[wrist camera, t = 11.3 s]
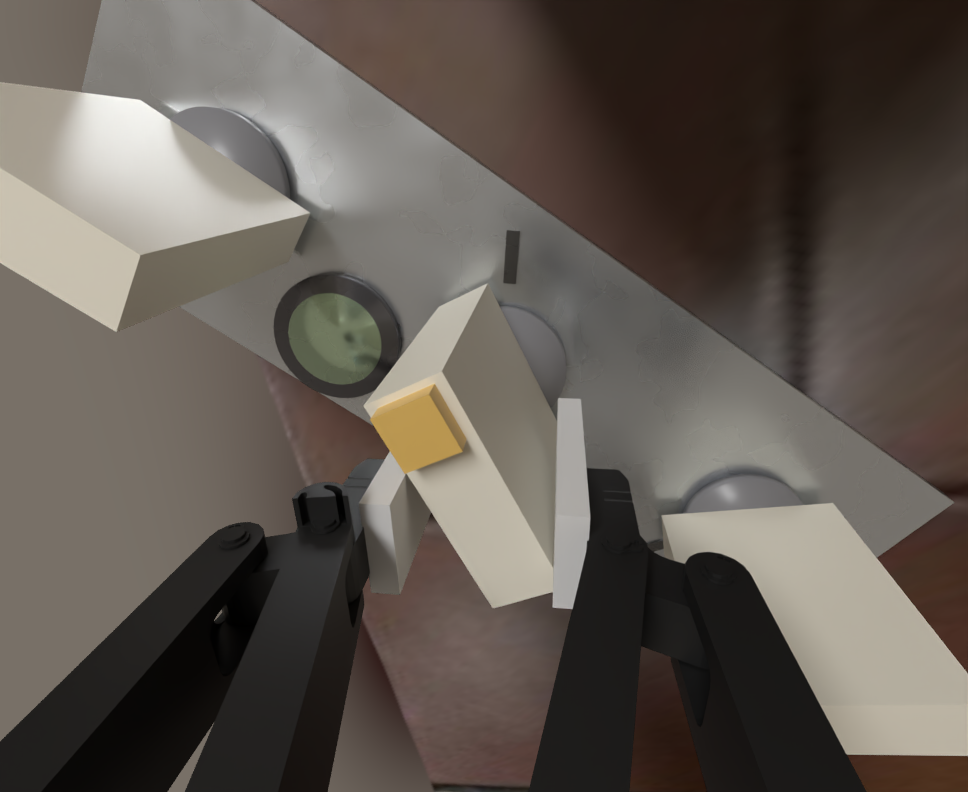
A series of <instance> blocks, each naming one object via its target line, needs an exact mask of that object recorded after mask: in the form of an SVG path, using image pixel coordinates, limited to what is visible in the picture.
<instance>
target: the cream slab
mask: <svg viewBox="0 0 968 792" xmlns="http://www.w3.org/2000/svg"><path fill="white" fill-rule="evenodd" d="M309 216H310V212H308V211H307V210H305V209H304V208H302V207H301V206H299V205H298V204H296V203H295V202H293V201H292V200H290V188H289V181H288V176H287V173H286V169H285V167H284V164H283V161H282V159H281V157H280V155H279V153H278V151H277V150H276V148H275V147H274V145H273V144H272V142H271V141H270V139H269V138H268V137H267V136H266V135H265V133H264V132H263V131H261V130H260V129H259V128H258V127H257V126H256V125H255V124H254V123H252V122H251V121H250V120H248V119H246V118H245V117H243V116H241V115H240V114H237V113H235V112H233V111H230V110H226V109H222V108H215V107H207V106H200V107H192V108H188V109H185V110H183V111H180V112H179V113H177V114H175V115H174V116H172V117H171V118H170V119H168V118H167V117H165V116H164V115H162V114H161V113H159V112H158V111H156V110H155V109H153V108H152V107H150V106H149V105H147V104H146V103H144V102H143V101H141V100H137V99H129V98H121V97H114V96H106V95H98V94H90V93H82V92H74V91H66V90H58V89H50V88H42V87H34V86H26V85H18V84H10V83H3V82H0V263H1V264H3V265H5V266H6V267H8V268H10V269H11V270H13V271H15V272H16V273H18V274H20V275H22V276H23V277H25V278H26V279H28V280H30V281H31V282H33V283H35V284H36V285H38V286H40V287H41V288H43V289H45V290H47V291H48V292H50V293H52V294H54V295H55V296H57V297H58V298H60V299H62V300H63V301H65V302H67V303H68V304H70V305H72V306H73V307H75V308H77V309H78V310H80V311H82V312H84V313H85V314H87V315H89V316H90V317H92V318H94V319H95V320H97V321H99V322H100V323H102V324H104V325H106V326H107V327H109V328H110V329H112V330H114V331H115V332H118V331H120V330H123V329H125V328H127V327H130V326H132V325H135V324H137V323H140V322H142V321H144V320H147V319H149V318H152V317H155V316H157V315H159V314H162V313H164V312H167V311H169V310H172V309H174V308H177V307H179V306H181V305H184V304H186V303H189V302H191V301H194V300H196V299H199V298H201V297H204V296H206V295H208V294H211V293H213V292H216V291H218V290H221V289H223V288H226V287H228V286H230V285H233V284H235V283H238V282H240V281H243V280H245V279H248V278H250V277H252V276H255V275H257V274H260V273H262V272H265V271H267V270H270V269H272V268H275V267H277V266H279V265H282V264H284V263H287V262H289V259H290V257H291V255H292V253H293V251H294V248H295V246H296V244H297V242H298V240H299V237H300V235H301V233H302V231H303V229H304V226H305V224H306V222H307V220H308V218H309Z"/></svg>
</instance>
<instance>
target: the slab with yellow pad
mask: <svg viewBox="0 0 968 792" xmlns="http://www.w3.org/2000/svg"><path fill="white" fill-rule="evenodd" d="M662 530H663V546H664V555H665V558H667V559H670V560H674V561H677V562H680V563H684V564H685V563H686V561H687V560H688V558H689V557H690V556H692V555H694V554H696V553H701V552H713V553H720V554H723V555H726V556H728V557H731V558H733V559H735V560H736V561H738V562H739V563H741V564H742V565H744V566H745V568H746V569H747V570H748V571H749V573H750V574H751V576H752V577H753V579H754V581H755V583H756V585H757V587H758V589H759V591H760V593H761V594H762V596H763V598H764V600H765V602H766V604H767V606H768V608H769V609H770V611H771V613H772V615H773V617H774V619H775V621H776V623H777V625H778V626H779V628H780V630H781V632H782V634H783V636H784V638H785V640H786V641H787V643H788V645H789V647H790V649H791V651H792V653H793V655H794V657H795V658H796V660H797V662H798V664H799V666H800V668H801V670H802V672H803V673H804V675H805V677H806V679H807V681H808V683H809V685H810V687H811V689H812V690H813V692H814V694H815V696H816V698H817V700H818V702H819V704H820V706H821V707H822V709H823V711H824V713H825V715H826V717H827V719H828V721H829V722H830V724H831V726H832V728H833V730H834V732H835V734H836V736H837V738H838V739H839V741H840V743H841V745H842V747H843V749H844V751H845V753H846V754H852V755H940V756H968V673H967V672H966V671H965V670H964V668H963V667H962V666H961V664H960V663H959V662H958V661H957V659H956V658H955V657H954V656H953V654H952V653H951V652H950V651H949V649H948V648H947V647H946V645H945V644H944V643H943V642H942V640H941V639H940V638H939V637H938V635H937V634H936V633H935V632H934V630H933V629H932V628H931V626H930V625H929V624H928V623H927V621H926V620H925V619H924V618H923V616H922V615H921V614H920V613H919V611H918V610H917V609H916V607H915V606H914V605H913V604H912V602H911V601H910V600H909V599H908V597H907V596H906V595H905V594H904V592H903V591H902V590H901V588H900V587H899V586H898V585H897V583H896V582H895V581H894V580H893V578H892V577H891V576H890V575H889V573H888V572H887V571H886V569H885V568H884V567H883V566H882V564H881V563H880V562H879V561H878V559H877V558H876V557H875V556H874V554H873V553H872V552H871V550H870V549H869V548H868V547H867V545H866V544H865V543H864V542H863V540H862V539H861V538H860V537H859V535H858V534H857V533H856V531H855V530H854V529H853V528H852V526H851V525H850V524H849V523H848V521H847V520H846V519H845V518H844V516H843V515H842V514H841V512H840V511H839V510H838V509H837V507H836V506H835V505H834V504H833V503H826V504H812V505H803V504H802V502H801V500H800V499H799V498H798V496H797V495H796V494H795V492H794V491H793V490H792V489H791V488H790V487H788V486H787V485H786V484H784V483H782V482H781V481H779V480H777V479H774V478H771V477H768V476H764V475H759V474H738V475H732V476H728V477H724V478H721V479H718V480H716V481H714V482H712V483H710V484H708V485H706V486H705V487H703V488H702V489H701V490H699V491H698V492H697V493H696V494H695V495H694V496H693V497H692V498H691V499H690V501H689V502H688V504H687V505H686V507H685V509H684V512H683V514H672V515H662Z"/></svg>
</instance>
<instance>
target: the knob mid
mask: <svg viewBox="0 0 968 792" xmlns="http://www.w3.org/2000/svg"><path fill="white" fill-rule="evenodd" d="M565 379H566V357H565V353H564V349H563V346H562V344H561V341H560V339H559V338H558V336H557V334H556V333H555V332H554V330H553V329H552V328H551V327H550V326H549V325H548V324H547V323H546V322H545V321H544V320H542V319H541V318H540V317H538V316H536V315H535V314H533V313H531V312H529V311H526V310H524V309H520V308H517V307H510V306H499V304H498V302H497V300H496V298H495V296H494V294H493V292H492V290H491V288H490V286H489V284H488V283H487V284H485V285H483V286H481V287H479V288H477V289H474V290H472V291H470V292H468V293H466V294H464V295H462V296H460V297H458V298H456V299H454V300H452V301H450V302H448V303H446V304H444V305H441V306H439V307H438V309H437V310H436V311H435V312H434V314H433V315H432V316H431V318H430V319H429V320H428V322H427V323H426V324H425V326H424V327H423V328H422V330H421V331H420V332H419V333H418V335H417V336H416V337H415V339H414V340H413V341H412V343H411V344H410V345H409V347H408V348H407V349H406V351H405V352H404V353H403V354H402V356H401V357H400V358H399V360H398V361H397V362H396V364H395V365H394V366H393V368H392V369H391V370H390V372H389V373H388V374H387V375H386V377H385V378H384V379H383V381H382V382H381V383H380V385H379V386H378V387H377V389H376V390H375V391H374V393H373V394H372V395H371V396H370V398H369V399H368V400H367V402H366V403H365V404H364V408H365V409H366V411H367V412H368V414H369V415H370V417H371V419H370V421H371V422H372V424H373V425H374V427H375V428H376V430H377V432H378V433H379V435H380V436H381V438H382V439H383V441H384V442H385V444H386V446H387V447H388V449H389V450H390V452H391V453H392V455H393V457H394V458H395V460H396V461H397V463H398V464H399V466H400V467H401V469H402V471H403V472H404V474H406V473H407V475H408V477H409V478H410V480H411V481H412V483H413V484H414V486H415V488H416V489H417V491H418V492H419V494H420V495H421V497H422V498H423V500H424V502H425V503H426V505H427V506H428V508H429V509H430V511H431V513H432V514H433V516H434V517H435V519H436V520H437V522H438V524H439V525H440V527H441V528H442V530H443V531H444V533H445V534H446V536H447V538H448V539H449V541H450V542H451V544H452V545H453V547H454V549H455V550H456V552H457V553H458V555H459V556H460V558H461V560H462V561H463V563H464V564H465V566H466V567H467V569H468V570H469V572H470V574H471V575H472V577H473V578H474V580H475V581H476V583H477V585H478V586H479V588H480V589H481V591H482V592H483V594H484V596H485V597H486V599H487V600H488V602H489V603H490V605H491V606H492V608H497V607H500V606H504V605H508V604H511V603H515V602H518V601H522V600H526V599H529V598H533V597H536V596H540V595H544V594H547V593H551V592H553V565H554V518H555V472H556V442H557V420H556V418H555V416H554V414H553V412H552V410H551V407H552V406H553V405H554V404H555V403H556V401H557V400H558V398H559V396H560V395H561V393H562V390H563V387H564V384H565Z"/></svg>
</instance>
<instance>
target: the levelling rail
mask: <svg viewBox="0 0 968 792" xmlns="http://www.w3.org/2000/svg"><path fill="white" fill-rule="evenodd" d="M82 93H90V94H98V95H106V96H114V97H121V98H129V99H137V100H141V101H143V102H144V103H146V104H147V105H149V106H150V107H152V108H153V109H155V110H156V111H158V112H159V113H161V114H162V115H164V116H165V117H167V118H168V119H170V118H171V117H172V116H174V115H175V114H177V113H179V112H180V111H183V110H185V109H188V108H192V107H200V106H207V107H215V108H222V109H226V110H230V111H233V112H235V113H237V114H240V115H241V116H243V117H245V118H246V119H248V120H250V121H251V122H252V123H254V124H255V125H256V126H257V127H258V128H259V129H260V130H261V131H263V132H264V133H265V135H266V136H267V137H268V138H269V139H270V141H271V142H272V144H273V145H274V147H275V148H276V150H277V151H278V153H279V155H280V157H281V159H282V161H283V164H284V167H285V169H286V173H287V176H288V181H289V188H290V200H292V201H293V202H295V203H296V204H298V205H299V206H301V207H302V208H304V209H305V210H307V211H308V212H310V216H309V218H308V220H307V222H306V224H305V226H304V229H303V231H302V233H301V235H300V237H299V240H298V242H297V244H296V246H295V248H294V251H293V253H292V255H291V257H290V259H289V262H287V263H284V264H282V265H279V266H277V267H275V268H272V269H270V270H267V271H265V272H262V273H260V274H257V275H255V276H252V277H250V278H248V279H245V280H243V281H240V282H238V283H235V284H233V285H230V286H228V287H226V288H223V289H221V290H218V291H216V292H213V293H211V294H208V295H206V296H204V297H201V298H199V299H196V300H194V301H191V302H189V303H186V304H184V305H181V306H179V307H180V308H182V309H184V310H185V311H187V312H189V313H190V314H192V315H193V316H195V317H197V318H198V319H200V320H202V321H203V322H205V323H207V324H208V325H210V326H211V327H213V328H215V329H217V330H218V331H220V332H221V333H223V334H224V335H226V336H228V337H229V338H231V339H233V340H234V341H236V342H238V343H239V344H241V345H242V346H244V347H246V348H247V349H249V350H251V351H252V352H254V353H255V354H257V355H259V356H260V357H262V358H264V359H265V360H267V361H269V362H270V363H272V364H273V365H275V366H277V367H278V368H280V369H282V370H283V371H285V372H286V373H288V374H290V375H291V376H293V377H295V378H296V379H298V380H300V381H301V382H302V383H304V384H305V385H307V386H308V387H310V388H311V389H313V390H315V391H317V392H319V393H321V394H322V395H324V396H326V397H327V398H329V399H331V400H332V401H334V402H335V403H337V404H339V405H340V406H342V407H344V408H345V409H347V410H348V411H350V412H352V413H353V414H355V415H357V416H358V417H360V418H362V419H363V420H365V421H366V422H368V423H370V424H371V425H373V424H372V422H371V421H370V419H371V417H370V415H369V414H368V412H367V411H366V409H365V408H364V404H365V403H366V402H367V400H368V399H369V398H370V396H371V395H372V394H373V393H374V391H375V390H376V389H377V387H378V386H379V385H380V383H381V382H382V381H383V379H384V378H385V377H386V375H387V374H388V373H389V372H390V370H391V369H392V368H393V366H394V365H395V364H396V362H397V361H398V360H399V358H400V357H401V356H402V354H403V353H404V352H405V351H406V349H407V348H408V347H409V345H410V344H411V343H412V341H413V340H414V339H415V337H416V336H417V335H418V333H419V332H420V331H421V330H422V328H423V327H424V326H425V324H426V323H427V322H428V320H429V319H430V318H431V316H432V315H433V314H434V312H435V311H436V310H437V309H438V307H439V306H441V305H444V304H446V303H448V302H450V301H452V300H454V299H456V298H458V297H460V296H462V295H464V294H466V293H468V292H470V291H472V290H474V289H477V288H479V287H481V286H483V285H485V284H487V283H488V284H489V286H490V288H491V290H492V292H493V294H494V296H495V298H496V300H497V302H498V304H499V306H510V307H517V308H520V309H524V310H526V311H529V312H531V313H533V314H535V315H536V316H538V317H540V318H541V319H542V320H544V321H545V322H546V323H547V324H548V325H549V326H550V327H551V328H552V329H553V330H554V332H555V333H556V334H557V336H558V338H559V339H560V341H561V344H562V346H563V349H564V353H565V357H566V379H565V384H564V387H563V390H562V393H561V395H560V396H559V398H572V399H581V408H582V420H583V432H584V444H585V457H586V468H594V469H614V470H620V472H621V473H622V474H623V475H624V476H625V477H626V478H627V479H628V481H629V485H630V490H631V495H632V500H633V504H634V509H635V514H636V518H637V523H638V528H639V533H640V536H641V537H642V538H643V539H644V540H645V541H646V543H647V546H648V548H649V549H650V550H652V551H653V552H655V553H656V554H658V555H660V556H662V557H665V555H664V546H663V530H662V515H672V514H683V512H684V509H685V507H686V505H687V504H688V502H689V501H690V499H691V498H692V497H693V496H694V495H695V494H696V493H697V492H698V491H699V490H701V489H702V488H703V487H705V486H706V485H708V484H710V483H712V482H714V481H716V480H718V479H721V478H724V477H728V476H732V475H738V474H759V475H764V476H768V477H771V478H774V479H777V480H779V481H781V482H782V483H784V484H786V485H787V486H788V487H790V488H791V489H792V490H793V491H794V492H795V494H796V495H797V496H798V498H799V499H800V500H801V502H802V504H803V505H812V504H826V503H833V504H834V505H835V506H836V507H837V509H838V510H839V511H840V512H841V514H842V515H843V516H844V518H845V519H846V520H847V521H848V523H849V524H850V525H851V526H852V528H853V529H854V530H855V531H856V533H857V534H858V535H859V537H860V538H861V539H862V540H863V542H864V543H865V544H866V545H867V547H868V548H869V549H870V550H871V552H872V553H873V554H874V556H875V557H876V558H877V557H878V556H880V555H881V554H882V553H884V552H885V551H887V550H888V549H890V548H891V547H892V546H894V545H895V544H897V543H898V542H899V541H901V540H902V539H904V538H905V537H906V536H908V535H909V534H911V533H912V532H913V531H915V530H916V529H918V528H919V527H921V526H922V525H923V524H925V523H926V522H928V521H929V520H930V519H932V518H933V517H935V516H936V515H937V514H939V513H940V512H942V511H943V510H944V509H946V508H947V507H949V506H950V505H952V504H953V503H954V502H953V501H952V500H951V499H950V498H949V497H948V496H946V495H945V494H944V493H943V492H942V491H940V490H939V489H938V488H936V487H935V486H933V485H932V484H931V483H929V482H928V481H926V480H925V479H924V478H922V477H921V476H919V475H918V474H917V473H915V472H914V471H912V470H911V469H910V468H908V467H907V466H905V465H904V464H903V463H901V462H900V461H898V460H897V459H896V458H894V457H893V456H891V455H890V454H889V453H887V452H886V451H884V450H883V449H882V448H880V447H879V446H877V445H876V444H875V443H873V442H872V441H870V440H869V439H868V438H866V437H865V436H863V435H862V434H861V433H859V432H858V431H856V430H855V429H854V428H852V427H851V426H849V425H848V424H847V423H845V422H844V421H842V420H841V419H840V418H838V417H837V416H835V415H834V414H833V413H831V412H830V411H828V410H827V409H826V408H824V407H823V406H821V405H820V404H819V403H817V402H816V401H814V400H813V399H812V398H810V397H809V396H807V395H806V394H805V393H803V392H802V391H800V390H799V389H798V388H796V387H795V386H793V385H792V384H791V383H789V382H788V381H786V380H785V379H784V378H782V377H781V376H779V375H778V374H777V373H775V372H774V371H772V370H771V369H770V368H768V367H767V366H765V365H764V364H763V363H761V362H760V361H758V360H757V359H756V358H754V357H753V356H751V355H750V354H749V353H747V352H746V351H744V350H743V349H742V348H740V347H739V346H737V345H736V344H735V343H733V342H732V341H730V340H729V339H728V338H726V337H725V336H724V335H722V334H721V333H719V332H718V331H717V330H715V329H714V328H712V327H711V326H710V325H708V324H707V323H705V322H704V321H703V320H701V319H700V318H698V317H697V316H696V315H694V314H693V313H691V312H690V311H689V310H687V309H686V308H684V307H683V306H682V305H680V304H679V303H677V302H676V301H675V300H673V299H672V298H670V297H669V296H668V295H666V294H665V293H663V292H662V291H661V290H659V289H658V288H656V287H655V286H654V285H652V284H651V283H649V282H648V281H647V280H645V279H644V278H642V277H641V276H640V275H638V274H637V273H635V272H634V271H633V270H631V269H630V268H628V267H627V266H626V265H624V264H623V263H621V262H620V261H619V260H617V259H616V258H614V257H613V256H612V255H610V254H609V253H607V252H606V251H605V250H603V249H602V248H600V247H599V246H598V245H596V244H595V243H593V242H592V241H591V240H589V239H588V238H586V237H585V236H584V235H582V234H581V233H579V232H578V231H577V230H575V229H574V228H572V227H571V226H570V225H568V224H567V223H565V222H564V221H563V220H561V219H560V218H558V217H557V216H556V215H554V214H553V213H551V212H550V211H549V210H547V209H546V208H544V207H543V206H542V205H540V204H539V203H537V202H536V201H535V200H533V199H532V198H530V197H529V196H528V195H526V194H525V193H523V192H522V191H521V190H519V189H518V188H516V187H515V186H514V185H512V184H511V183H509V182H508V181H507V180H505V179H504V178H502V177H501V176H500V175H498V174H497V173H495V172H494V171H493V170H491V169H490V168H488V167H487V166H486V165H484V164H483V163H481V162H480V161H479V160H477V159H476V158H474V157H473V156H472V155H470V154H469V153H467V152H466V151H465V150H463V149H462V148H460V147H459V146H458V145H456V144H455V143H453V142H452V141H451V140H449V139H448V138H446V137H445V136H444V135H442V134H441V133H439V132H438V131H437V130H435V129H434V128H432V127H431V126H430V125H428V124H427V123H425V122H424V121H423V120H421V119H420V118H418V117H417V116H416V115H414V114H413V113H411V112H410V111H409V110H407V109H406V108H404V107H403V106H402V105H400V104H399V103H397V102H396V101H395V100H393V99H392V98H390V97H389V96H388V95H386V94H385V93H383V92H382V91H381V90H379V89H378V88H376V87H375V86H374V85H372V84H371V83H369V82H368V81H367V80H365V79H364V78H362V77H361V76H360V75H358V74H357V73H355V72H354V71H353V70H351V69H350V68H348V67H347V66H346V65H344V64H343V63H341V62H340V61H339V60H337V59H336V58H334V57H333V56H332V55H330V54H329V53H327V52H326V51H325V50H323V49H322V48H320V47H319V46H318V45H316V44H315V43H313V42H312V41H311V40H309V39H308V38H306V37H305V36H304V35H302V34H301V33H299V32H298V31H297V30H295V29H294V28H292V27H291V26H290V25H288V24H287V23H285V22H284V21H283V20H281V19H280V18H278V17H277V16H276V15H274V14H273V13H271V12H270V11H269V10H267V9H266V8H264V7H263V6H262V5H260V4H259V3H257V2H256V1H255V0H102V2H101V7H100V12H99V16H98V20H97V25H96V29H95V34H94V38H93V43H92V47H91V52H90V56H89V60H88V65H87V69H86V74H85V78H84V83H83V87H82ZM551 410H552V412H553V414H554V416H555V418H556V420H557V413H558V400H557V401H556V403H555V404H554V405H553V406H552V407H551ZM373 426H374V425H373Z"/></svg>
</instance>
